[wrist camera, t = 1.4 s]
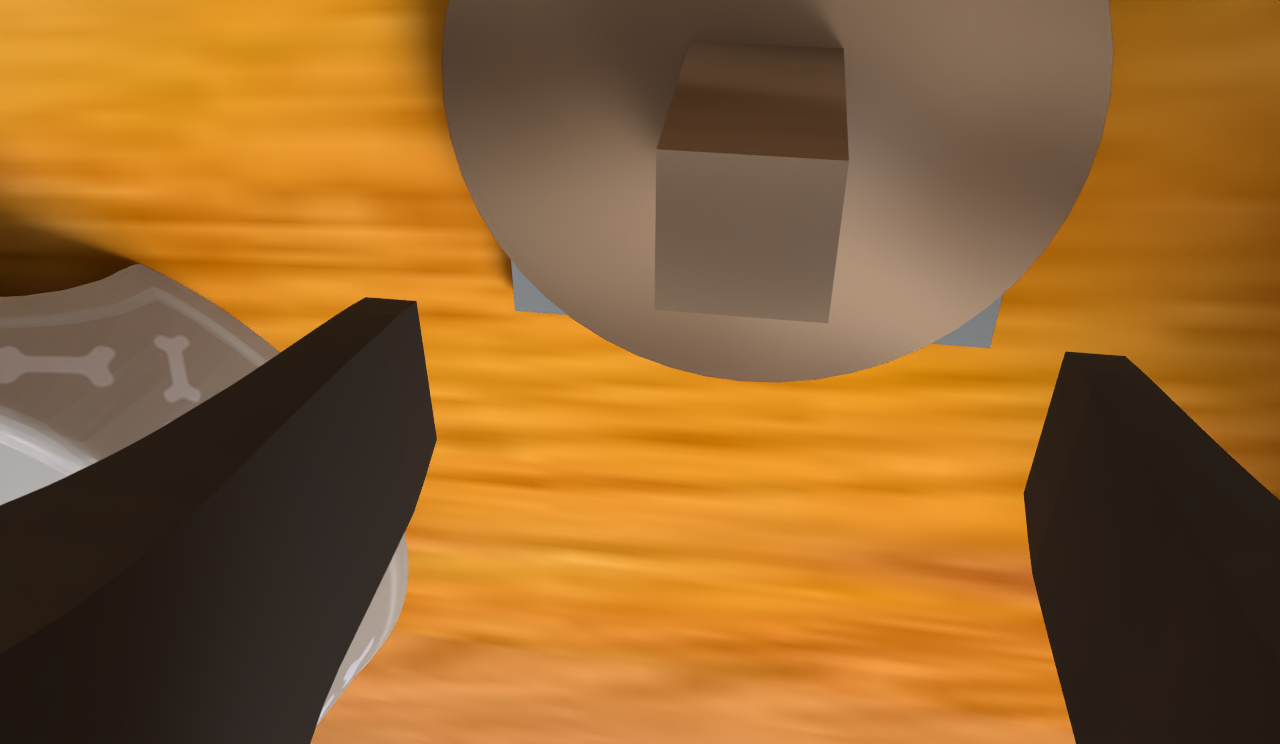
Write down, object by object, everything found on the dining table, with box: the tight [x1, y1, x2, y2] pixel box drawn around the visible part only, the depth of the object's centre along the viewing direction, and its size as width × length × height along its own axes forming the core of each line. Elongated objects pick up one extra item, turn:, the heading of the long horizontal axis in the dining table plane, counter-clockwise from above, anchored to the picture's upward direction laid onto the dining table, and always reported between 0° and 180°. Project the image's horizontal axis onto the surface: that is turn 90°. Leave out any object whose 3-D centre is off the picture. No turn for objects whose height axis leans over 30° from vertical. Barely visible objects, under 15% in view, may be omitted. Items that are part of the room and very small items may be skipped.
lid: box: [442, 0, 1113, 382], centre depth 17 cm, size 12×12×5 cm
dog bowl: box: [0, 264, 408, 726], centre depth 27 cm, size 17×18×5 cm
